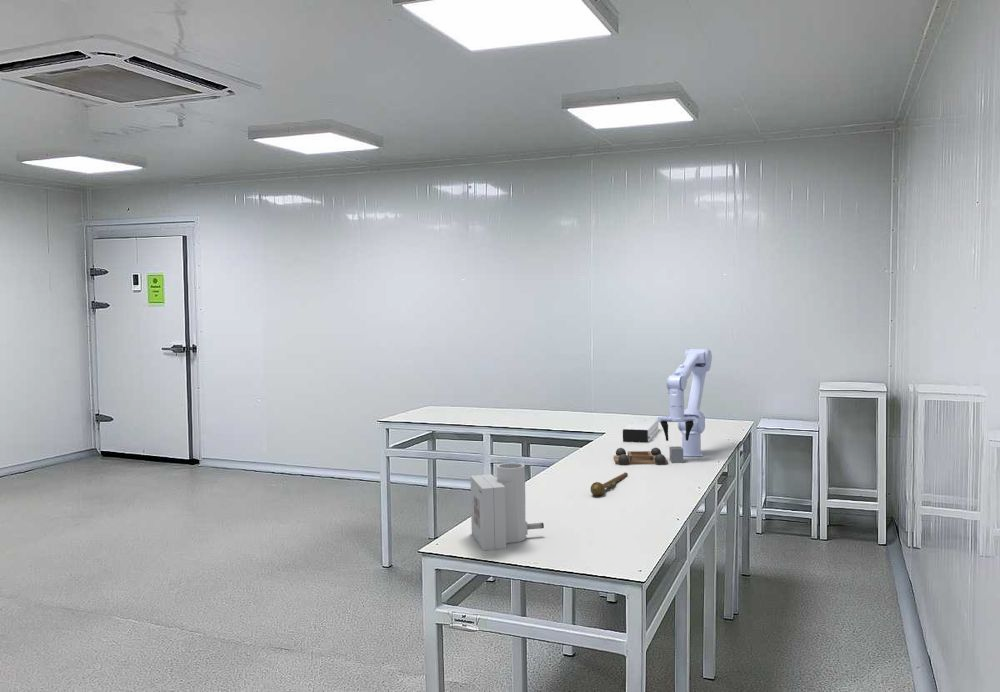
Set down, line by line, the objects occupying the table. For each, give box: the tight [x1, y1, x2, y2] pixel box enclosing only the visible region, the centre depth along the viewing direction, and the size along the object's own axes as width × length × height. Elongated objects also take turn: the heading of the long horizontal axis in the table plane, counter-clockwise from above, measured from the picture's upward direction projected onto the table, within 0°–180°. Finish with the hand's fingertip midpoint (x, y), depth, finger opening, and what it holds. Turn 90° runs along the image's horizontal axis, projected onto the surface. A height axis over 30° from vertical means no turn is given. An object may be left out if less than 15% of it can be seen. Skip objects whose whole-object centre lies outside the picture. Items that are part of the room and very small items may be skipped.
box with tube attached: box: [469, 462, 545, 551], centre depth 221 cm, size 16×19×20 cm
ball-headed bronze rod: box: [590, 471, 629, 497], centre depth 281 cm, size 5×35×5 cm
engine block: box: [669, 445, 684, 464], centre depth 321 cm, size 6×4×6 cm
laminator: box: [622, 418, 659, 444], centre depth 381 cm, size 34×12×6 cm, turn 161°
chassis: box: [613, 447, 669, 466], centre depth 323 cm, size 15×20×4 cm
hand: (677, 440), depth 320 cm, fingers open, 7 cm apart
